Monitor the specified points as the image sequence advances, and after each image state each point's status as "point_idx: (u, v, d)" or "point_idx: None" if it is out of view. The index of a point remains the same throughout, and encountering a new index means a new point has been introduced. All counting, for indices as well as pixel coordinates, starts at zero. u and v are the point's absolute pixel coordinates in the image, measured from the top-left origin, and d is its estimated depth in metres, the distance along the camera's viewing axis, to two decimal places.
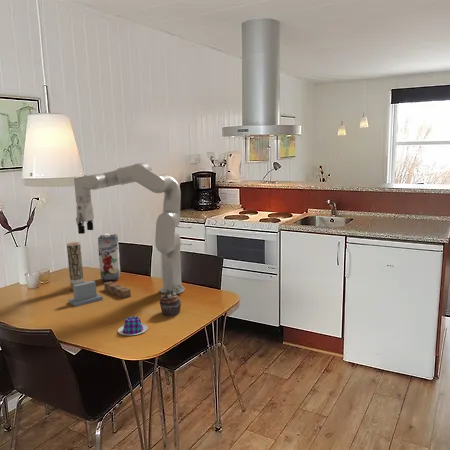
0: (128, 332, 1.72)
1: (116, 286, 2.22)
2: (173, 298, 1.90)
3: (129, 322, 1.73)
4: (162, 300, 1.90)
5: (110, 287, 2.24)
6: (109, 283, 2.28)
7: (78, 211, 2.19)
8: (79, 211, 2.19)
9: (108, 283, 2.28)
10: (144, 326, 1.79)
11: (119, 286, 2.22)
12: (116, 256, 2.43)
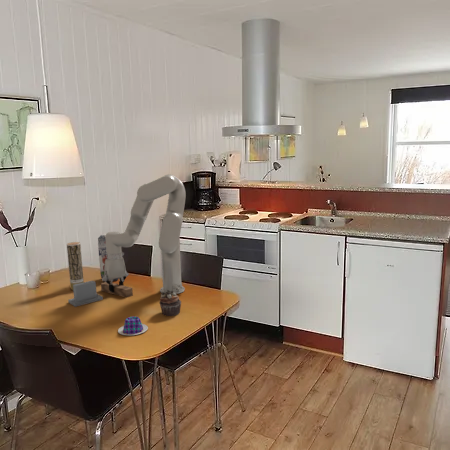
0: (128, 332, 1.72)
1: (116, 285, 2.22)
2: (173, 298, 1.90)
3: (129, 322, 1.73)
4: (162, 300, 1.90)
5: None
6: (105, 283, 2.27)
7: None
8: None
9: (105, 283, 2.27)
10: (144, 326, 1.79)
11: (119, 285, 2.22)
12: None
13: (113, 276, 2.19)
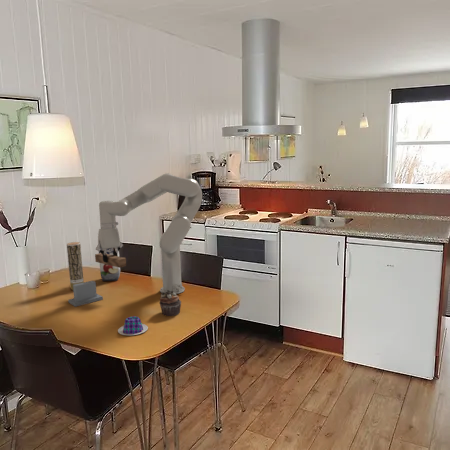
0: (128, 332, 1.72)
1: (109, 256, 2.18)
2: (173, 298, 1.90)
3: (129, 322, 1.73)
4: (162, 300, 1.90)
5: None
6: (100, 254, 2.23)
7: None
8: None
9: (99, 254, 2.23)
10: (144, 326, 1.79)
11: (112, 256, 2.18)
12: None
13: (107, 246, 2.14)
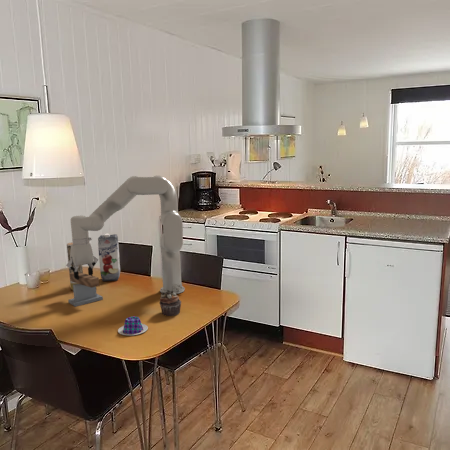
0: (127, 332, 1.72)
1: (83, 275, 2.10)
2: (173, 298, 1.90)
3: (128, 322, 1.73)
4: (162, 300, 1.90)
5: None
6: None
7: None
8: None
9: None
10: (145, 326, 1.78)
11: (86, 275, 2.10)
12: (116, 256, 2.43)
13: (79, 263, 2.06)
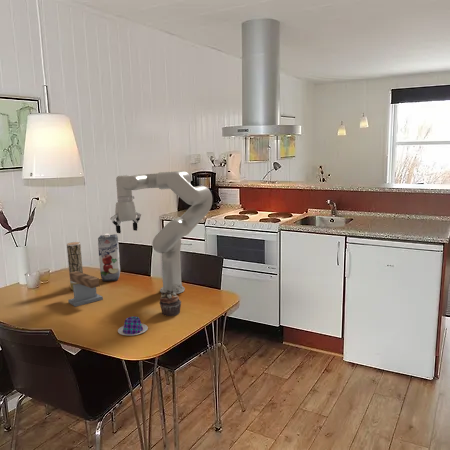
0: (126, 332, 1.73)
1: (83, 275, 2.10)
2: (173, 298, 1.90)
3: (127, 322, 1.73)
4: (162, 300, 1.90)
5: (76, 277, 2.11)
6: (74, 272, 2.15)
7: None
8: None
9: (74, 273, 2.15)
10: (145, 327, 1.78)
11: (86, 275, 2.10)
12: (116, 256, 2.43)
13: (124, 218, 2.23)
